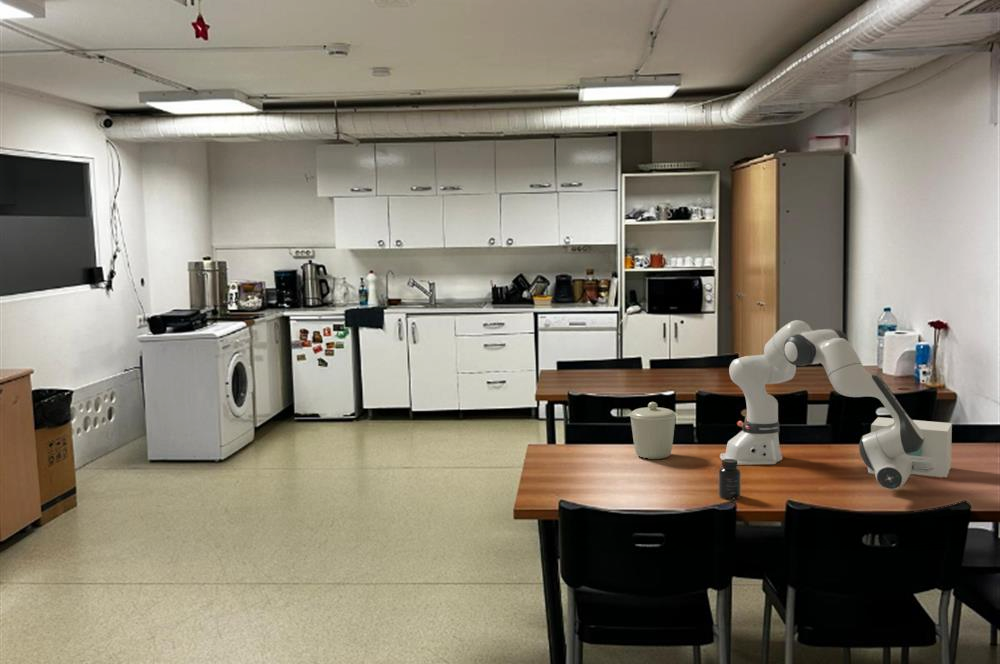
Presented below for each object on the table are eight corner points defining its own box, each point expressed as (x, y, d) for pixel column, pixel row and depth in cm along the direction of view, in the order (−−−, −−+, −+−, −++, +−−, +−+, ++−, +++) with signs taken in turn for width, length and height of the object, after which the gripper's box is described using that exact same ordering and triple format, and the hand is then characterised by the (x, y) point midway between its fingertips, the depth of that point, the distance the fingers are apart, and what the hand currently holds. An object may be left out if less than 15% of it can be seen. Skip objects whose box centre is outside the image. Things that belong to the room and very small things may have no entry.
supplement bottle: (715, 494, 286) (715, 458, 285) (736, 493, 287) (736, 457, 285) (722, 500, 279) (722, 463, 278) (743, 499, 280) (743, 462, 279)
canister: (674, 463, 325) (673, 407, 322) (625, 461, 331) (624, 406, 328) (680, 451, 342) (679, 398, 339) (633, 449, 348) (633, 397, 345)
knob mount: (946, 477, 296) (947, 431, 294) (870, 469, 309) (871, 424, 307) (950, 467, 308) (951, 423, 306) (877, 460, 321) (877, 417, 319)
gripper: (933, 459, 272) (938, 449, 284) (863, 453, 283) (870, 444, 295) (933, 479, 273) (938, 469, 285) (863, 472, 284) (870, 462, 295)
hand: (903, 456), depth 290 cm, fingers closed
